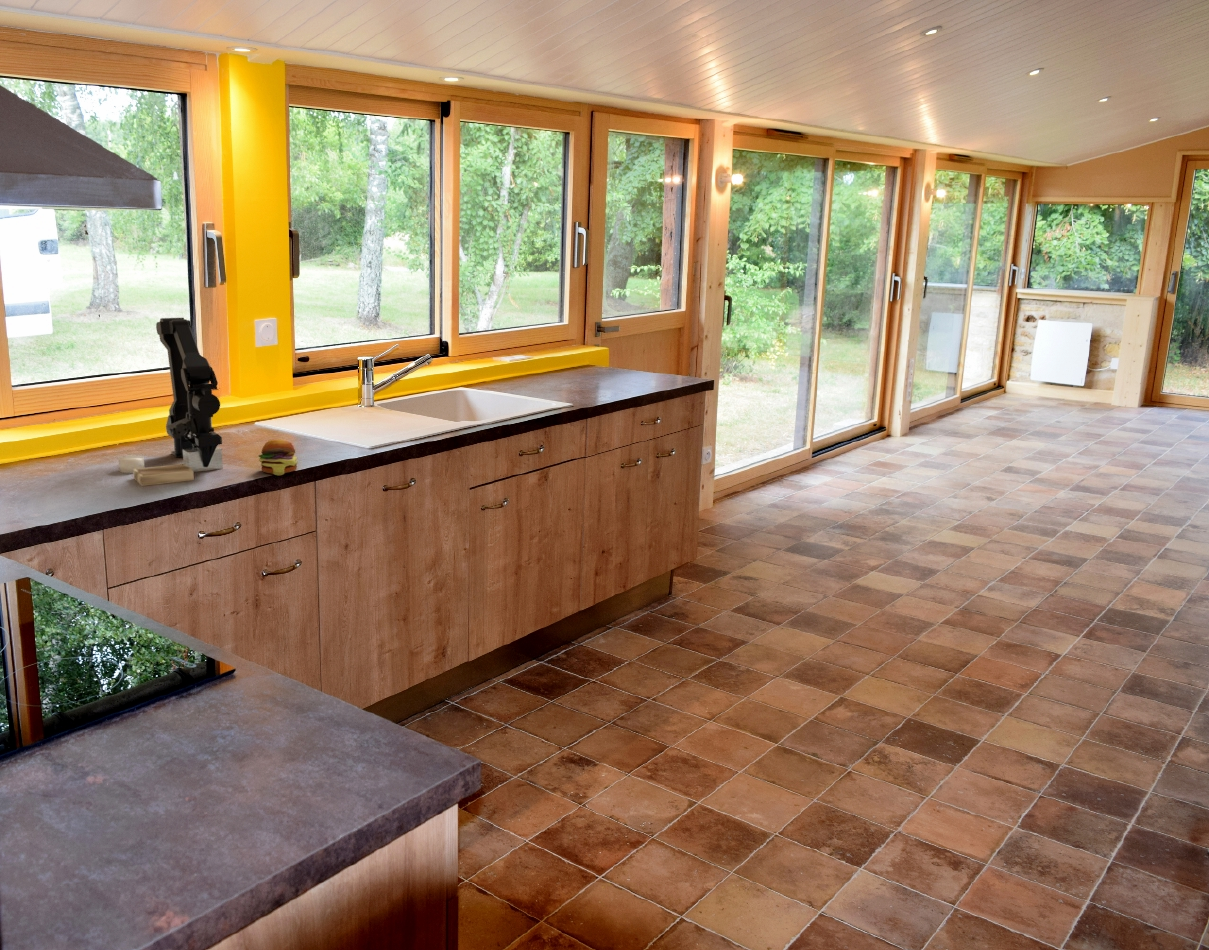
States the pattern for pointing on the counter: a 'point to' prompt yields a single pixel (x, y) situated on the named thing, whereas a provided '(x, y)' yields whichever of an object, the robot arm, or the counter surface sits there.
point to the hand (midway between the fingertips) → (203, 464)
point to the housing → (195, 461)
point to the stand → (163, 474)
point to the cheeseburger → (278, 457)
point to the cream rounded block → (130, 463)
